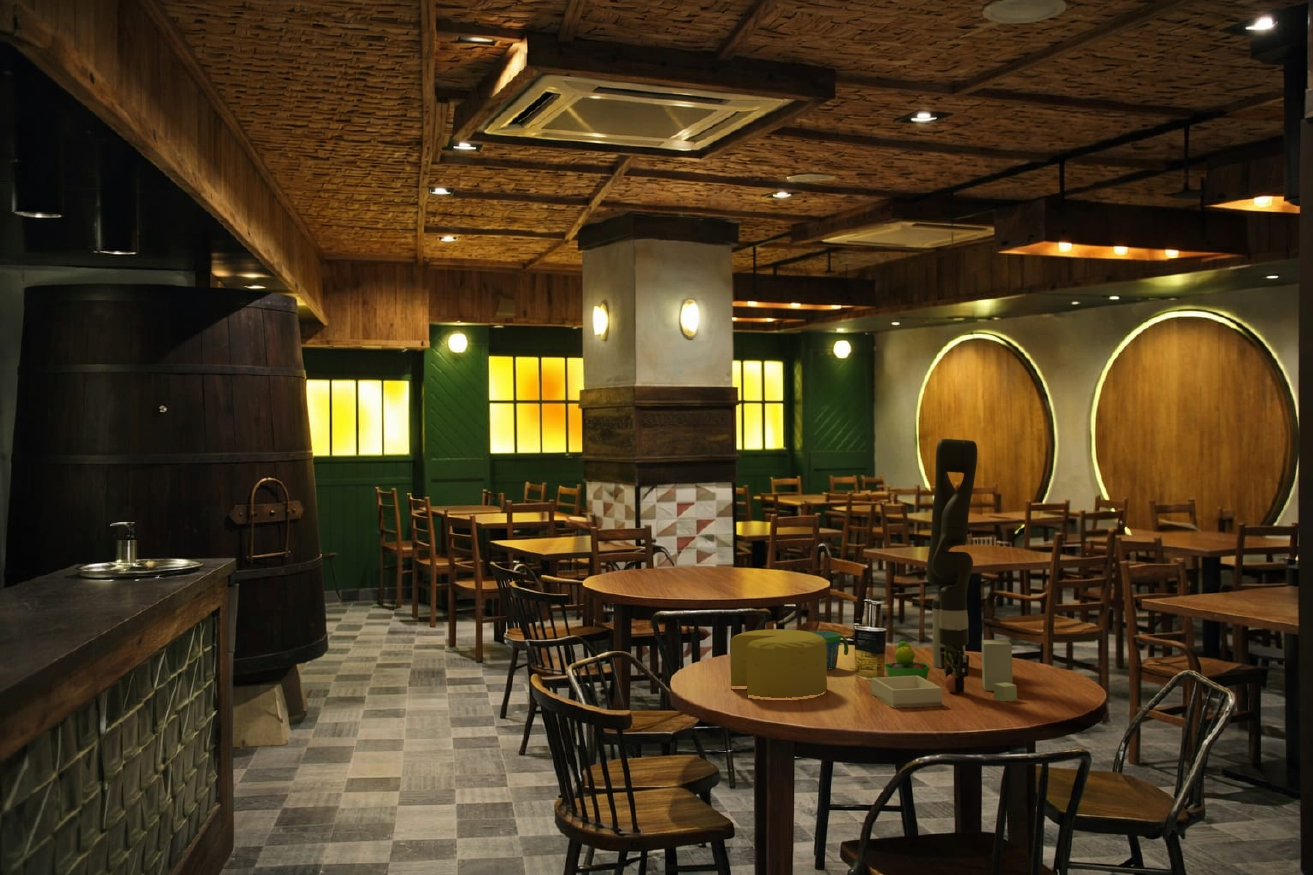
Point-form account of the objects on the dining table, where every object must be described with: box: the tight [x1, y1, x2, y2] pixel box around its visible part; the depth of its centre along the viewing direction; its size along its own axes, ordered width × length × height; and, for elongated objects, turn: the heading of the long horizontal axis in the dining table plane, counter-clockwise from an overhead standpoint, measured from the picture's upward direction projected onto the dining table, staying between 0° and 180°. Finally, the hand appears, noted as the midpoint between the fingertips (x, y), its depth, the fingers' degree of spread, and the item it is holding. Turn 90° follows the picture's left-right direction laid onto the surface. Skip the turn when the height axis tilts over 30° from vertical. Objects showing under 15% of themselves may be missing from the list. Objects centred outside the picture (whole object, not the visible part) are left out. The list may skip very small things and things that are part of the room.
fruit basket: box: [884, 640, 931, 681], centre depth 315 cm, size 11×9×11 cm
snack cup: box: [811, 631, 850, 670], centre depth 338 cm, size 16×10×10 cm
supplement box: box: [981, 639, 1013, 692], centre depth 306 cm, size 7×7×13 cm
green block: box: [993, 682, 1018, 702], centre depth 293 cm, size 4×4×4 cm
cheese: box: [729, 628, 828, 698], centre depth 308 cm, size 26×26×15 cm
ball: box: [944, 673, 957, 693], centre depth 302 cm, size 5×5×5 cm
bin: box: [870, 676, 943, 708], centre depth 294 cm, size 16×13×4 cm
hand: (954, 689), depth 302 cm, fingers open, 5 cm apart
